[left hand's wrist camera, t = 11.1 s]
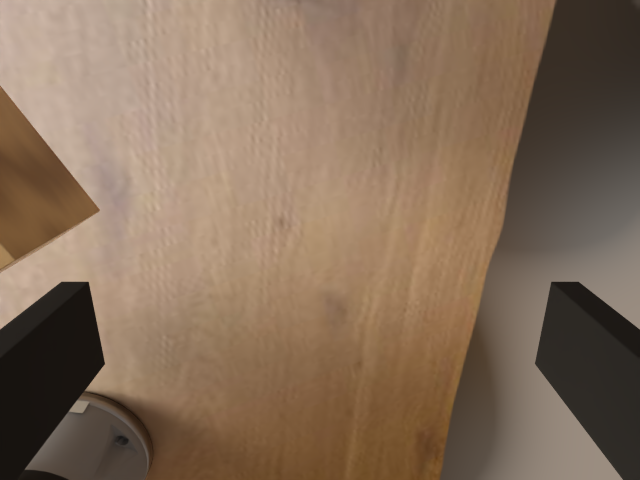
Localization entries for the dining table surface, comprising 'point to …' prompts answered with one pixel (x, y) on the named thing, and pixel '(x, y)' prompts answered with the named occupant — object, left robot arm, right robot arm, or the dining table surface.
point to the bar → (33, 189)
